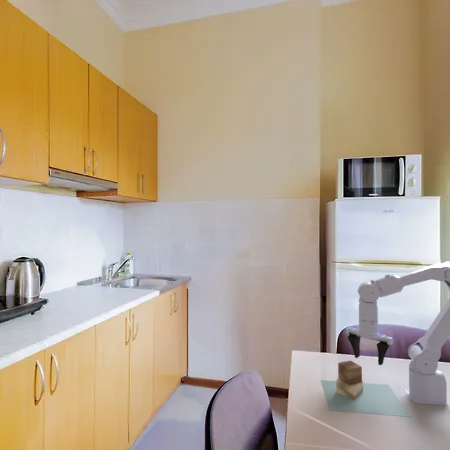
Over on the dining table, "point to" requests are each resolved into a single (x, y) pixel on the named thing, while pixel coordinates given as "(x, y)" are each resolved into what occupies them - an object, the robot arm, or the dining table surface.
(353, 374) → the walnut cube
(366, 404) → the mat
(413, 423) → the dining table surface
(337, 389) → the maple block
